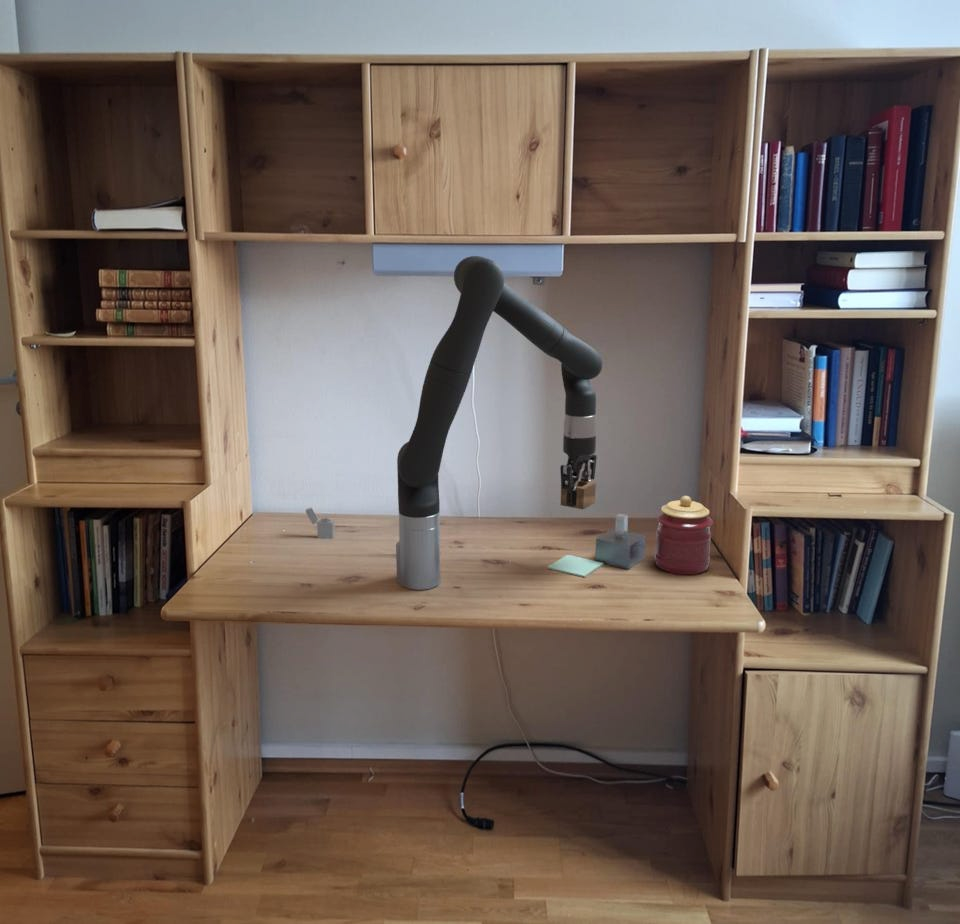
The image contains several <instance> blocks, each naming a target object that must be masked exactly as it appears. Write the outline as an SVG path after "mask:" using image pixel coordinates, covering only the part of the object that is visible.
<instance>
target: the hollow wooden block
mask: <svg viewBox="0 0 960 924" xmlns="http://www.w3.org/2000/svg"><path fill="white" fill-rule="evenodd" d="M565 484H566V482H565ZM573 484H574V481H573ZM596 485H597V484H596V482H592V481H591V482H587V481H581V480H580V482H578V485H577V489H576V505H575V506H574V507H573V506H568V505H567V490H565V489H562V488H561V487H560V506H562V507H568V508H573V509H579V510H585V509H587V508H589V507H591V506H592V505H594V504H596Z"/></svg>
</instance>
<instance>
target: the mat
mask: <svg viewBox="0 0 960 924" xmlns="http://www.w3.org/2000/svg"><path fill="white" fill-rule="evenodd" d="M604 565H605V564H604V563H602V562H597V561H595V560H593V559H588V558H584V557H578V556H575V555H570V554H566V555H565V556H562V557H561V558H559V559H558V560H557V561H555V562H553V563H552V564H550V565H548V566H547V570H553V571H556V572H560V573H565V574H569V575H573V576H577V577H581V578H586V577H588V576H589V575H591V574H592V573H594V572H595V571H596V570H597V569H599V568H601V567H602V566H604Z"/></svg>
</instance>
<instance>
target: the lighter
mask: <svg viewBox="0 0 960 924" xmlns="http://www.w3.org/2000/svg"><path fill="white" fill-rule="evenodd" d="M305 514H306V515H307V517H308V518H309V520H310V522H311V524H312V525H315V524H316V527H317V539H334V538H335V521H334V520H331V518H329V517H321V520H319V518H318V517H317V514H316V513H315V511H314V510H313V508H312V507H309V508H306V509H305Z"/></svg>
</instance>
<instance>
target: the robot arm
mask: <svg viewBox="0 0 960 924" xmlns="http://www.w3.org/2000/svg"><path fill="white" fill-rule="evenodd" d="M453 281H454V285H455V287H456V289H457V290H458V292H459V293H460V296H459V298H458V299H459V300H458V303H457V308H456V310H455V314H454V317H453V319H452V321H451V323H450V325H449V326H448V328H447V329H446V332H445V333H444V334H443V336H442V337H441V339H440V340H439V342H438V343H437V345H436V347H435V349H434V351H433V353H432V355H431V358H430V361H429V364H428V367H427V370H426V373H425V377H424V379H423V380H424V381H423V385H422V389H421V394H420V400H419V407H418V412H417V418H416V422H415V425H414V427H413V431H412V433H411V436H410V438H409V439H408V441H407V442H405V443H403V445H402V446H401V447H400V449H399V451H398V453H397V459H396V466H397V501H398V529H399V530H398V535H399V537H398V539H399V540H398V541H397V542H396V543H395V556H396V557H395V558H396V562H395V563H396V565H395V566H396V583H398V584H400V585H401V586H402V587H404V588H406V589H409V590H417V591H418V590H419V591H420V590H421V591H422V590H429V589H430V590H431V589H433V588H436V587H438V586H439V585H440V584H441V537H440V536H441V528H440V519H441V518H440V511H441V509H440V507H441V506H440V502H441V501H440V488H439V473H440V469H441V463H442V460H443V459H442V458H443V453H444V450H445V446H446V441H447V437H448V434H449V433H450V432H449V431H450V428H451V427H452V424H453V422H454V420H455V417H456V415H457V413H458V410H459V408H460V405H461V402H462V400H463V398H464V395H465V393H466V389H467V387H468V385H469V382H470V379H471V374H472V372H473V368H474V365H475V362H476V360H477V356H478V354H479V350H480V347H481V344H482V340H483V337H484V334H485V330H486V328H487V325H488V324H489V321H490V319H491V316H492V315H493V313H494V314H497V315H498V316H499V317H501V319H503V320H504V321H505V322H507V323H508V324H509V325H511V326H512V327H513V328H514V329H515V330H516V331H517V332H518V333H520V334H521V335H522V336H523V337H525V338H526V339H527V340H528V341H529V342H530V343H532V345H534V346H535V347H537V348H538V349H539V350H541V351H542V352H543V353H544V354H545V355H547V356H548V357H551V358H553V359H555V360H558V361H559V362H560V363H561V364H560V367H561V368H560V369H561V370H560V371H561V377H562V382H563V383H562V384H563V388H564V393H565V401H564V403H565V404H564V406H565V407H564V420H563V436H562V437H563V438H562V439H563V441H562V442H563V443H562V444H563V445H562V452H563V453H565V454H566V455H567V462H566V464H565V465H564V464H561V465H560V468H559V469H560V489H561V488H562V489H565V490H567V505H568V506H573V507H574V506H575V505H576V489H577V485H578V482H580V480H581V481H587V482H592V480H595V477H596V465H597V455H596V454H595V453H596V445H597V418H596V417H597V416H596V415H597V414H596V409H597V397H596V392H595V390H594V389H593V388H592V387H591V383H590V380H592V379H595V378H597V377H598V376H599V374H601V372H602V369H603V360H602V358H601V355H600V354H599V353H598V351H597V350H596V349H594V348H593V347H592V346H590V345H589V344H588V343H586V342H584V341H583V340H581V339H580V338H578V337H577V336H575V335H573V334H572V333H571V332H569V331H568V330H567V329H566V328H565V327H564V326H563V325H561V324H560V323H559V322H558V321H556V320H555V319H554V318H553V317H552V316H550V315H549V314H548V313H546V312H544V310H542V309H541V308H539V307H537V306H535V305H534V304H533V303H531V302H530V301H528V300H526V299H525V298H524V297H522V296H521V295H520V294H518V293H517V291H514V290H513V289H512V288H511V286H509V285H508V284H506V283H505V274H504V272H503V269H502V268H501V266H500V264H499V263H497V262H496V261H494V260H492V259H490V258H486V257H485V256H478V255H475V256H473V255H472V256H468V257H465V258H463V259H462V260H460V261H459V262H458V263H457V265H456V267H455V268H454V272H453ZM573 481H574V484H573ZM565 483H566V484H565Z"/></svg>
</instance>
